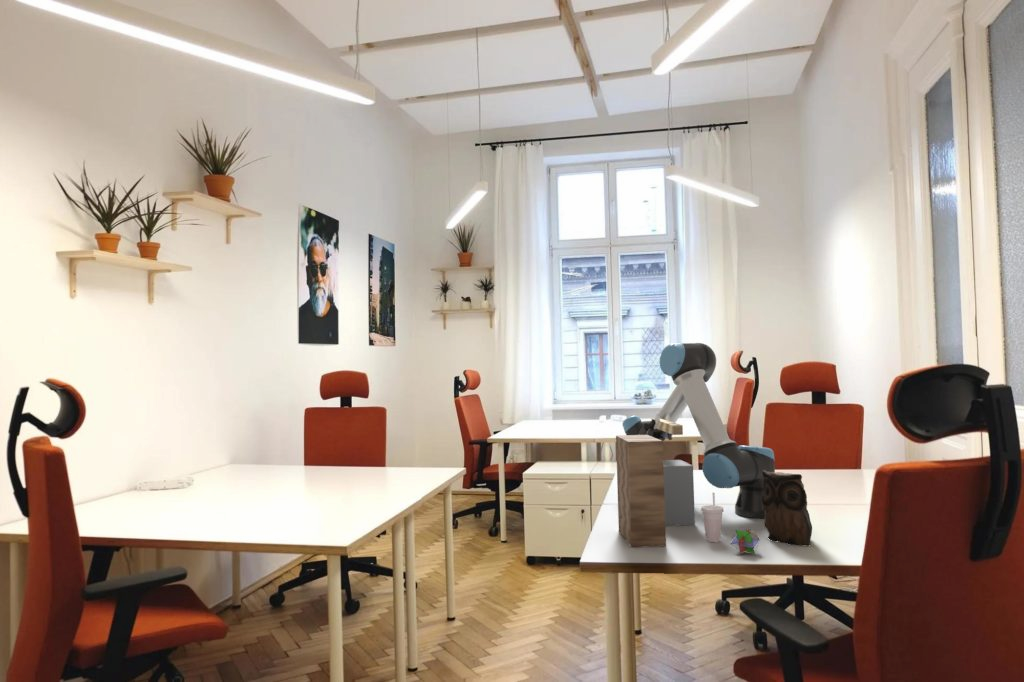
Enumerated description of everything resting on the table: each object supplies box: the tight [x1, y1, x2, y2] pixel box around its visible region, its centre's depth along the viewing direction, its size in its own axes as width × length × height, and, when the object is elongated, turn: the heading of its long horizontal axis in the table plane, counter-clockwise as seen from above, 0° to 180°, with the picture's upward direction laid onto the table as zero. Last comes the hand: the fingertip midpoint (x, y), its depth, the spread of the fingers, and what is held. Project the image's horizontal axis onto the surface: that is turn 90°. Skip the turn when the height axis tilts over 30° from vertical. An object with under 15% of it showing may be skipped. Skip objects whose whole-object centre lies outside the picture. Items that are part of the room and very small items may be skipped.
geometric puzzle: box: [729, 527, 761, 556], centre depth 180 cm, size 7×7×8 cm
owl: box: [762, 470, 813, 547], centre depth 193 cm, size 13×13×20 cm
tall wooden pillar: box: [615, 434, 667, 548], centre depth 199 cm, size 18×10×30 cm, turn 2°
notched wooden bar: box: [650, 417, 684, 436], centre depth 226 cm, size 28×3×3 cm, turn 2°
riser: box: [663, 459, 696, 526], centre depth 220 cm, size 14×10×19 cm
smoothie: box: [700, 492, 724, 543], centre depth 194 cm, size 6×6×14 cm
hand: (663, 417), depth 229 cm, fingers closed on notched wooden bar, 3 cm apart
